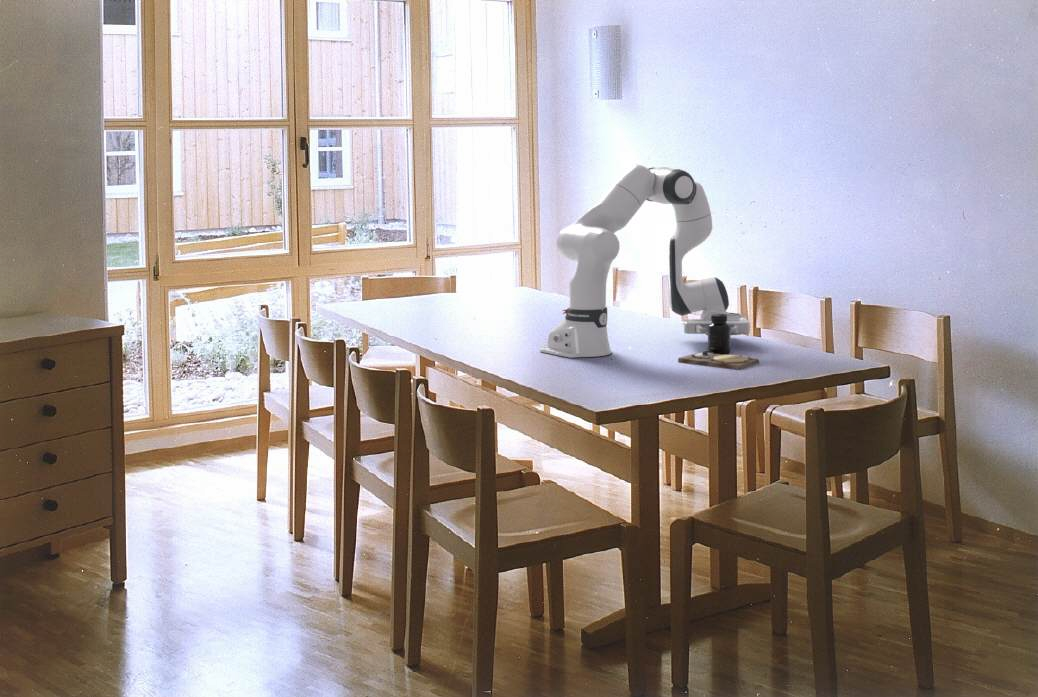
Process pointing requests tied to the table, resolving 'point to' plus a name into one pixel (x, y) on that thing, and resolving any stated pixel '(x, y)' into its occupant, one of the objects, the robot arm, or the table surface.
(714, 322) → the supplement bottle
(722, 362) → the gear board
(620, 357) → the table surface
